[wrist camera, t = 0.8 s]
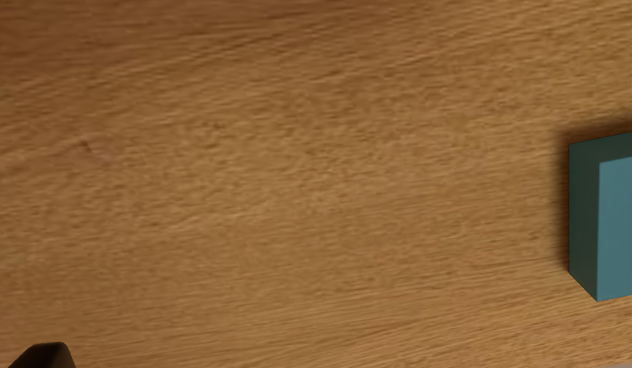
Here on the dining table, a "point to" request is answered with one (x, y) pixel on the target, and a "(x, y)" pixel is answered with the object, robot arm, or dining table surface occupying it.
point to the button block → (601, 215)
